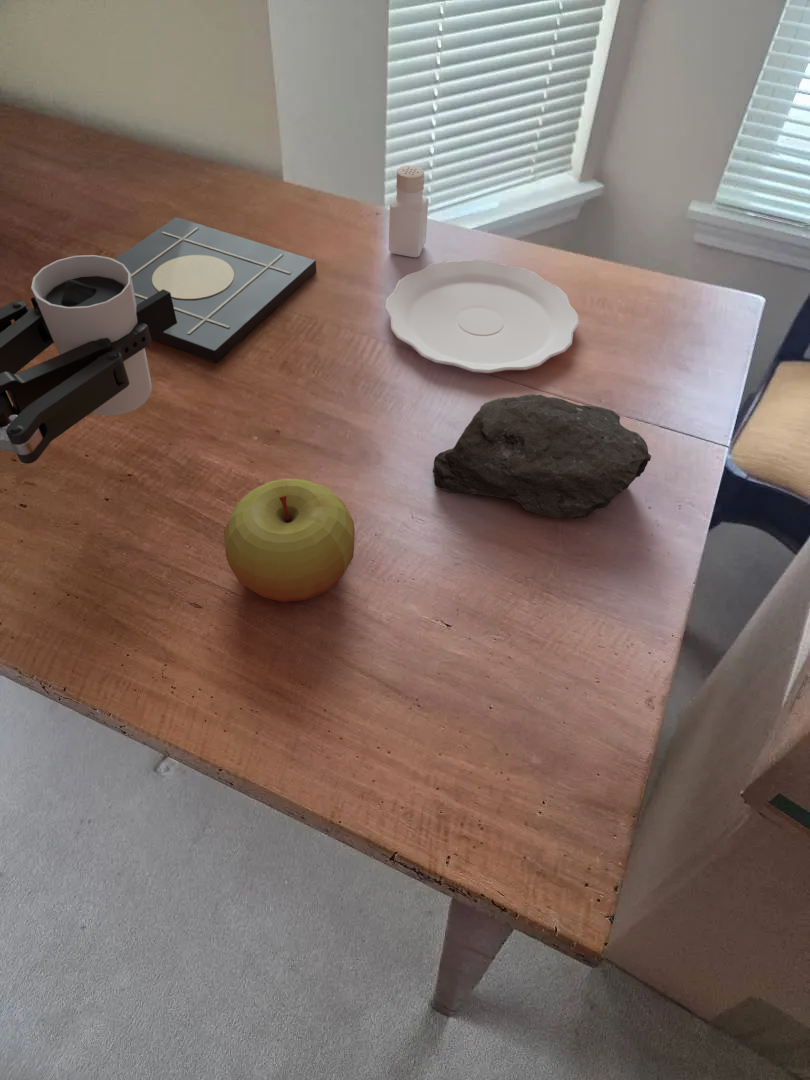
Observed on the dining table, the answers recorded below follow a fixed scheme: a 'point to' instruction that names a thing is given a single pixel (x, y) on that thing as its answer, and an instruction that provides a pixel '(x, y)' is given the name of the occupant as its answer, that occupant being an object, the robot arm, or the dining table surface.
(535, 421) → the stone
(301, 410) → the dining table surface
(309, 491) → the apple
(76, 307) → the white cup
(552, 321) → the plate
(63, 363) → the robot arm
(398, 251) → the salt shaker
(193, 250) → the board
